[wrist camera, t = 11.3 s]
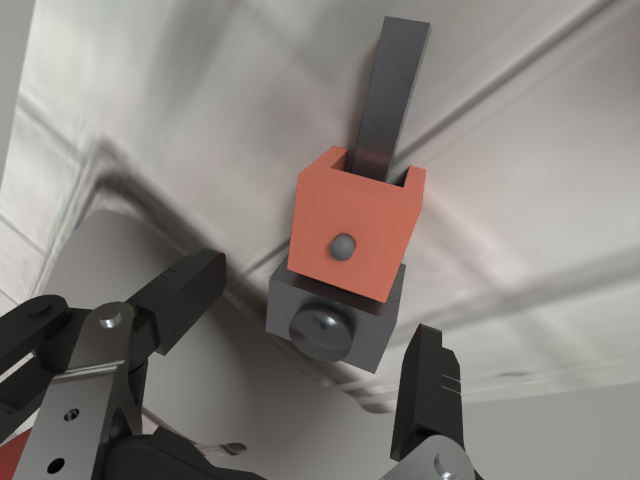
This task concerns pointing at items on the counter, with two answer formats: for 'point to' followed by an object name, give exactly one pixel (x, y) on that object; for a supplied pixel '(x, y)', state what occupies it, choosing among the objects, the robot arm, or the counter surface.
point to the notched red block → (352, 225)
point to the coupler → (374, 163)
